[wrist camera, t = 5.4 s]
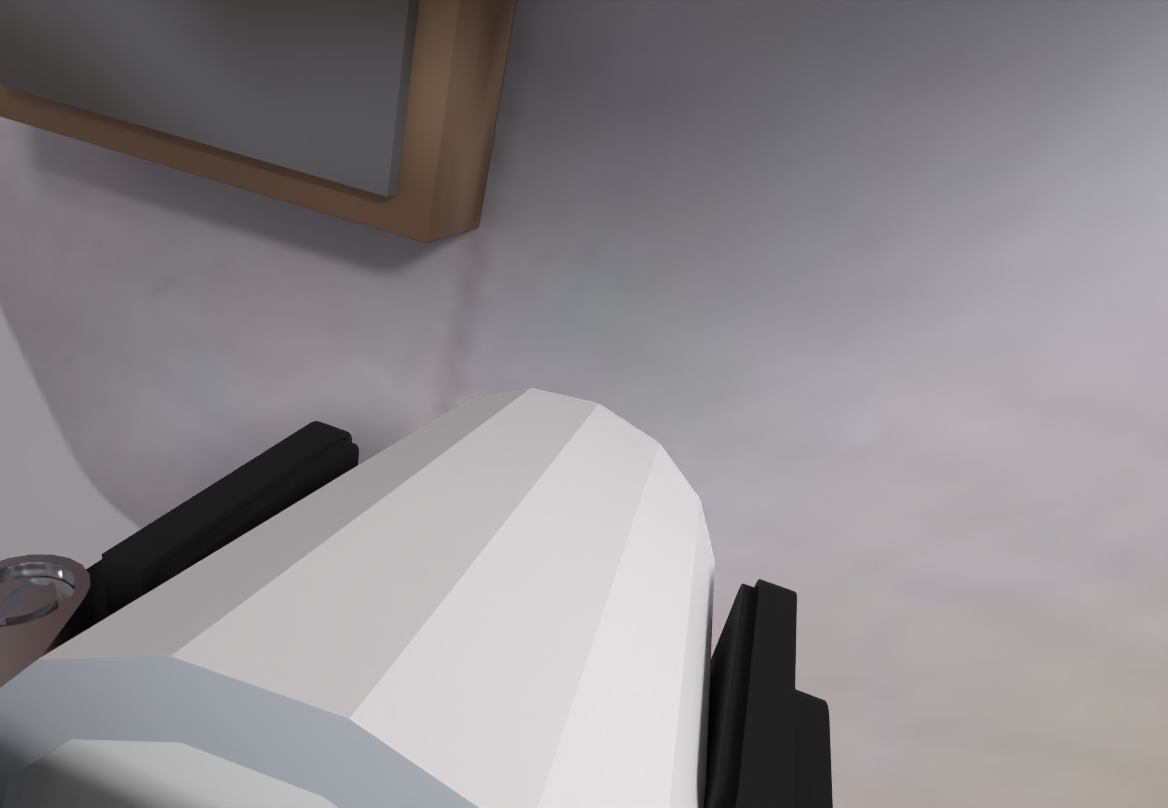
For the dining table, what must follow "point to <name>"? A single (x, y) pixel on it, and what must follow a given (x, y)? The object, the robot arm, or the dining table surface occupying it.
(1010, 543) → the dining table surface
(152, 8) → the tray
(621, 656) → the shot glass
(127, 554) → the robot arm
